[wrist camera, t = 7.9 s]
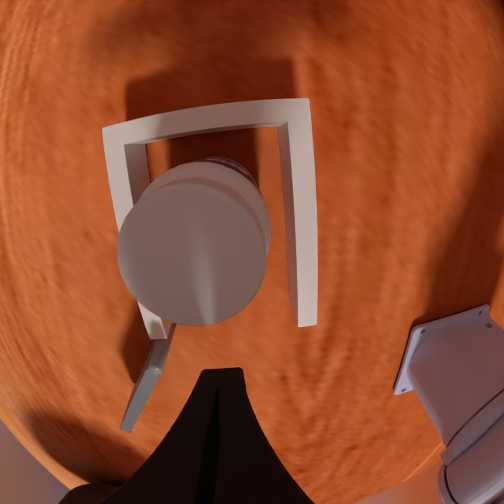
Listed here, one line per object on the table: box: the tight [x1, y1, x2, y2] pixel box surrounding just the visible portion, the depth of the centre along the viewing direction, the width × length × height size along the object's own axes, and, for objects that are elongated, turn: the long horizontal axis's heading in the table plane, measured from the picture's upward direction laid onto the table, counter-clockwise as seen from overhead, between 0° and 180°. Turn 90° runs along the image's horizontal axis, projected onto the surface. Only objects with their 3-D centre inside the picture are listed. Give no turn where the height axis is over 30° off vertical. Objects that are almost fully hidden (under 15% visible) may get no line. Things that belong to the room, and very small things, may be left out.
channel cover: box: [120, 322, 177, 433], centre depth 16 cm, size 9×1×4 cm, turn 150°
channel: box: [102, 98, 318, 339], centre depth 14 cm, size 9×11×3 cm
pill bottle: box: [117, 157, 271, 326], centre depth 11 cm, size 5×5×8 cm
